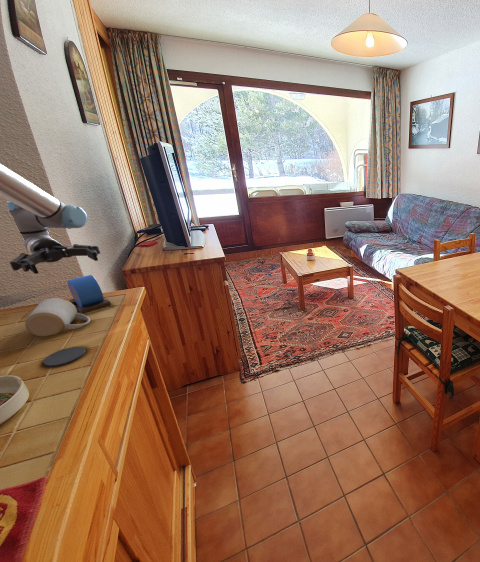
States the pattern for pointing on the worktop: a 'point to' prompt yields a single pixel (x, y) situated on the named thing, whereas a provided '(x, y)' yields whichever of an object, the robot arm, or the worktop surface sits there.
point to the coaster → (64, 356)
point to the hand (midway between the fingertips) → (66, 262)
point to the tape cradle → (91, 305)
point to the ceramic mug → (53, 317)
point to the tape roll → (85, 290)
